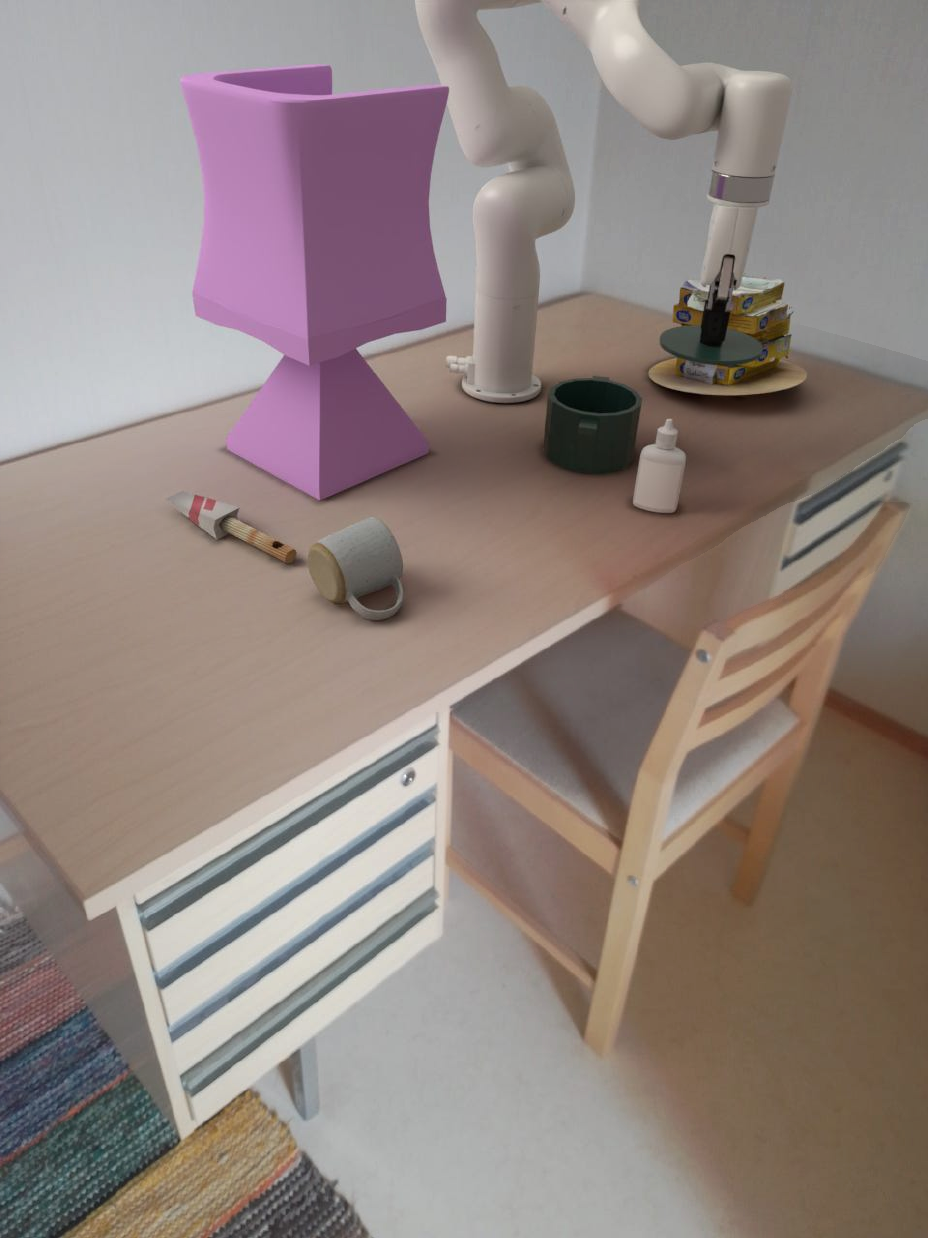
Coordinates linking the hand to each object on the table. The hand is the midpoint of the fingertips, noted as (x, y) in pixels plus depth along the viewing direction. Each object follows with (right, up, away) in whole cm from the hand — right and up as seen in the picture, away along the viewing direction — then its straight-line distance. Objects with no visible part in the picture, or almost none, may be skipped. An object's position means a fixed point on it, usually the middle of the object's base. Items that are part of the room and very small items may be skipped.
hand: (712, 334), depth 127 cm
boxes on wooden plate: (+10, +1, +30) cm, 31 cm away
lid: (0, -1, +1) cm, 2 cm away
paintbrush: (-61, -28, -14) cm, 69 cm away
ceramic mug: (-44, -36, -23) cm, 61 cm away
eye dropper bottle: (-9, -24, -4) cm, 26 cm away
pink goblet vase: (-52, -15, +5) cm, 54 cm away
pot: (-16, -15, +7) cm, 23 cm away
